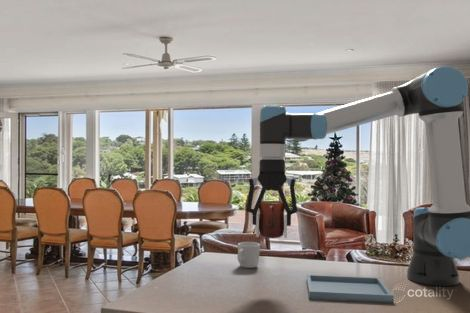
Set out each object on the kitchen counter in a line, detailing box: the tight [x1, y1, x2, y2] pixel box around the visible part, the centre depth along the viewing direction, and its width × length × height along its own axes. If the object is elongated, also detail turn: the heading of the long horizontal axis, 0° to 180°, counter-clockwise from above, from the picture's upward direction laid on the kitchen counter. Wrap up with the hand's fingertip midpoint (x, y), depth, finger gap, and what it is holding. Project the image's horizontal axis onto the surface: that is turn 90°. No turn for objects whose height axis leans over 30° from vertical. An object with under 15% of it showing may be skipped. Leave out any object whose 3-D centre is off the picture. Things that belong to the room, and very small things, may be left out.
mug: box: [258, 200, 286, 239], centre depth 130 cm, size 12×9×10 cm
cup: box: [236, 241, 261, 269], centre depth 154 cm, size 11×8×8 cm
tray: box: [306, 274, 395, 304], centre depth 127 cm, size 22×18×2 cm
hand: (271, 236), depth 130 cm, fingers closed on mug, 7 cm apart
